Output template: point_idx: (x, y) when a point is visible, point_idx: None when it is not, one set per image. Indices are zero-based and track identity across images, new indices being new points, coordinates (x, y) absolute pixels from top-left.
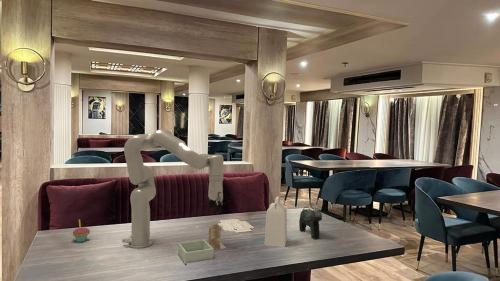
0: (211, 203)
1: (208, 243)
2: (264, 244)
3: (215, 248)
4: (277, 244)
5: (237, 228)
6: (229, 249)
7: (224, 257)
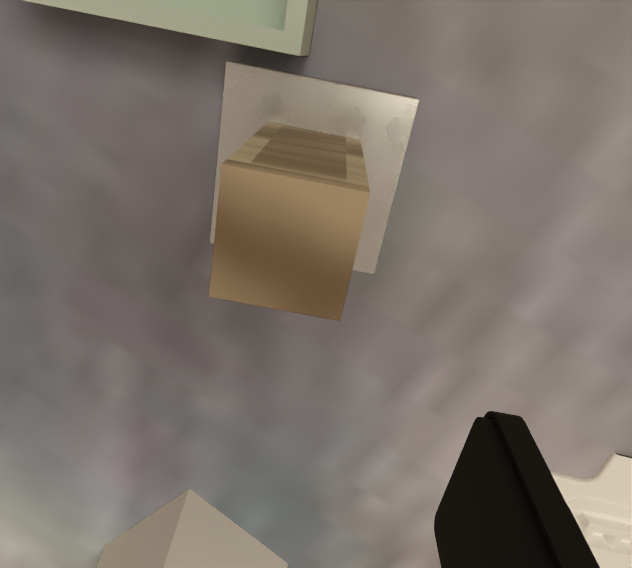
0: (507, 561)
1: (358, 142)
2: (187, 493)
3: None
4: (128, 537)
5: None
6: None
7: (86, 139)
